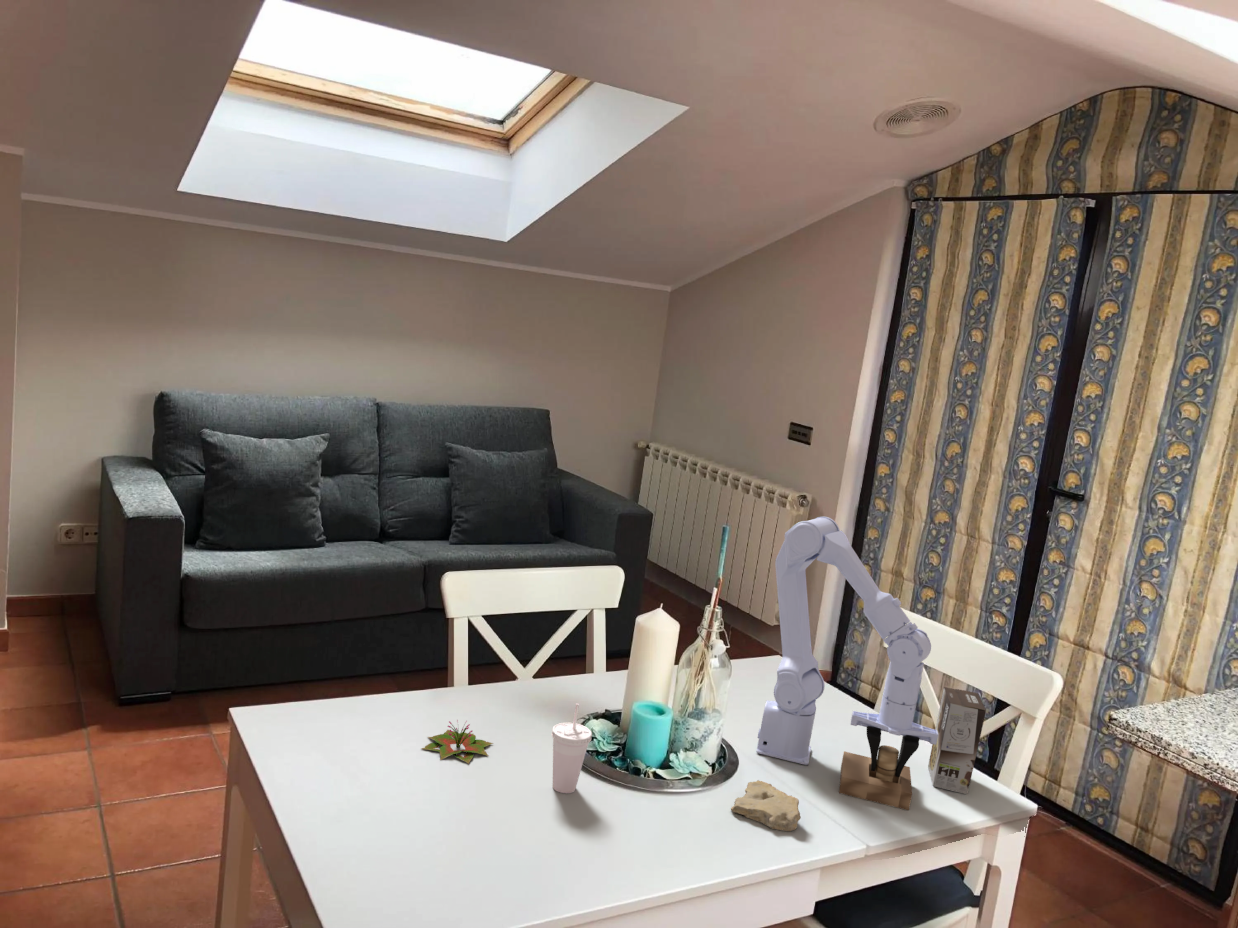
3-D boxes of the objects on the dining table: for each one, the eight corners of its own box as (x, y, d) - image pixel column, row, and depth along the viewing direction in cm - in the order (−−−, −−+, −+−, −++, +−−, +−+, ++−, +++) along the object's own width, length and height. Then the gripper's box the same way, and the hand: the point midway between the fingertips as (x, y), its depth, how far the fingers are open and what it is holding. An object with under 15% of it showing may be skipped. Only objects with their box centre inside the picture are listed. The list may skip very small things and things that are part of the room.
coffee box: (969, 795, 175) (987, 710, 172) (932, 786, 176) (949, 702, 174) (962, 773, 184) (979, 692, 181) (926, 765, 185) (943, 684, 182)
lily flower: (471, 773, 157) (475, 747, 157) (407, 752, 161) (410, 726, 160) (505, 746, 169) (508, 721, 168) (444, 727, 172) (447, 702, 172)
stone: (712, 789, 161) (764, 773, 165) (714, 809, 162) (765, 793, 166) (754, 823, 149) (809, 806, 153) (755, 844, 150) (810, 827, 154)
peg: (872, 783, 170) (877, 750, 170) (874, 775, 174) (879, 743, 173) (893, 788, 169) (899, 756, 168) (894, 780, 173) (900, 748, 172)
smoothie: (590, 786, 158) (603, 704, 156) (572, 801, 152) (584, 717, 150) (556, 773, 161) (567, 693, 158) (536, 788, 155) (548, 705, 153)
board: (839, 792, 168) (842, 776, 168) (840, 766, 179) (843, 751, 178) (908, 810, 166) (912, 793, 165) (906, 782, 176) (909, 766, 176)
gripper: (856, 696, 167) (842, 770, 169) (944, 716, 164) (928, 791, 166) (857, 683, 174) (843, 754, 176) (941, 701, 171) (926, 774, 173)
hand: (885, 771), depth 171 cm, fingers closed on peg, 3 cm apart
